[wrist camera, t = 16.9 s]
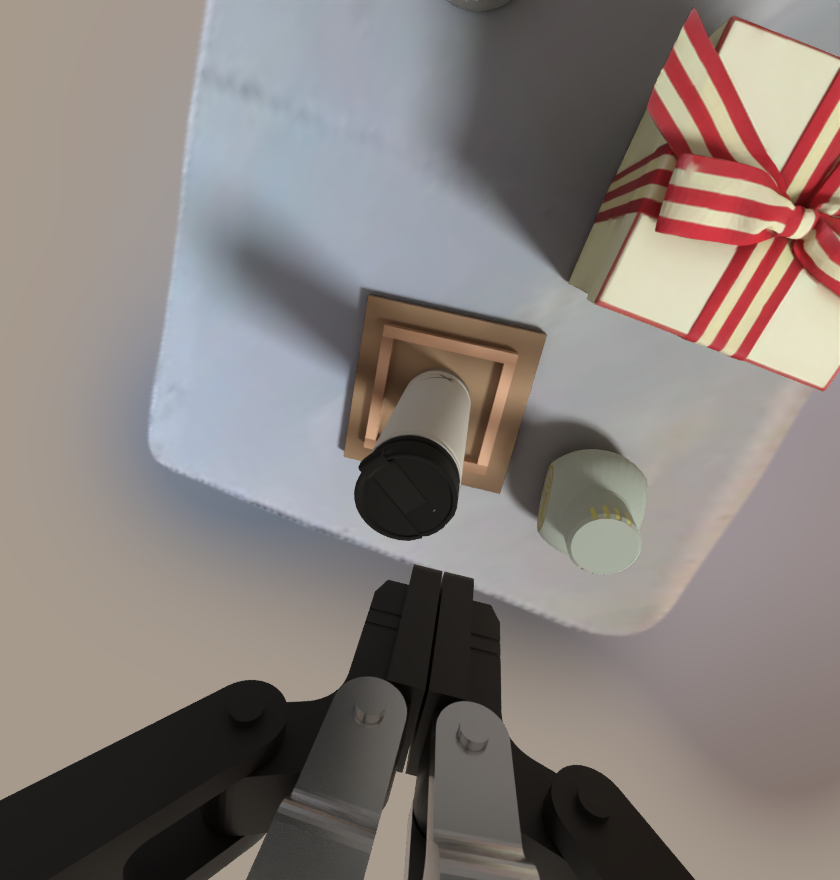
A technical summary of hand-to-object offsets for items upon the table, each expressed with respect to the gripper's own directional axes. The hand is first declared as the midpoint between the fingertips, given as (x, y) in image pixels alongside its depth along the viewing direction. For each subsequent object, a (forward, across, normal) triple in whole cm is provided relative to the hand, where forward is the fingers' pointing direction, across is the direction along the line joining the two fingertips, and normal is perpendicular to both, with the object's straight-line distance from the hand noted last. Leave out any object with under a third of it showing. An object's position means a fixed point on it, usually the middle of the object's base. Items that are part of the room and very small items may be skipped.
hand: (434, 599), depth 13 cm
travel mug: (+36, +2, +7) cm, 37 cm away
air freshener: (+37, -14, +13) cm, 42 cm away
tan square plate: (+37, +2, +7) cm, 38 cm away
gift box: (+37, -14, -13) cm, 42 cm away
